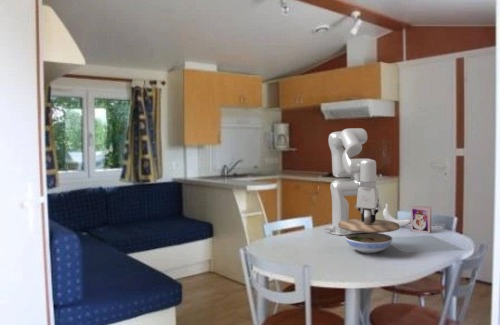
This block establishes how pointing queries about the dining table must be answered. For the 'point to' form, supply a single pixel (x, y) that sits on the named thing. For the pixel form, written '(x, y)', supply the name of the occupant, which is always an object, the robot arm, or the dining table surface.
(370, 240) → the ramen bowl
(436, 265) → the dining table surface
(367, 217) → the lid
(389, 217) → the banana
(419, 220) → the greeting card
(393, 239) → the mat
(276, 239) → the dining table surface
